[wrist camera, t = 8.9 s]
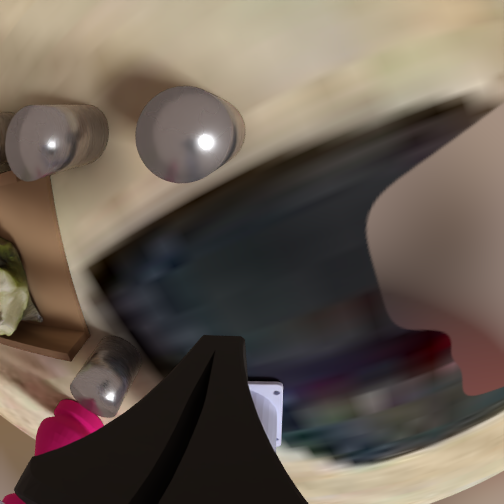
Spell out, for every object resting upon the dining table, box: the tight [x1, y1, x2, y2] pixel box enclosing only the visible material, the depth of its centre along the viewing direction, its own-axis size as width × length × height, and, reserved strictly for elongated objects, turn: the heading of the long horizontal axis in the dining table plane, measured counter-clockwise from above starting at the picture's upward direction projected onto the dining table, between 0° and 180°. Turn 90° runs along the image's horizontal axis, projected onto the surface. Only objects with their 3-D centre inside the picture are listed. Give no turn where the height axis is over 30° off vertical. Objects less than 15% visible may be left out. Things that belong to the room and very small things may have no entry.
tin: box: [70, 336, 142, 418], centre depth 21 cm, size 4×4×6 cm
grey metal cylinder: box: [136, 86, 245, 183], centre depth 14 cm, size 4×4×6 cm
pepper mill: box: [2, 399, 104, 504], centre depth 20 cm, size 7×7×20 cm
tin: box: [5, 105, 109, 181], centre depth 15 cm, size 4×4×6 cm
